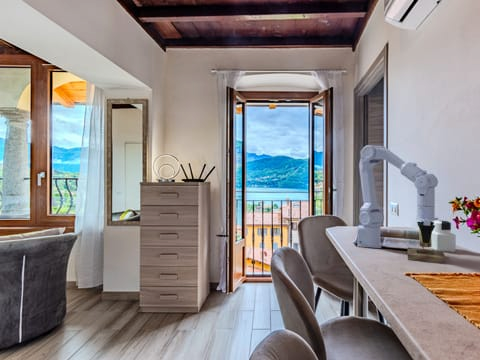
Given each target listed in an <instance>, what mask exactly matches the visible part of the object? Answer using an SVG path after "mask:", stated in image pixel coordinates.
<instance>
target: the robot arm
mask: <svg viewBox="0 0 480 360" xmlns="http://www.w3.org/2000/svg"><path fill="white" fill-rule="evenodd" d="M359 152H360V154H359V155H360V159H359V164H358V167H359V176H360V184H361V185H360V187H361V193H362V201H363V205H362V206H361V207H360V209H359V217H358V218H359V222H360V224H361V225H360V224H359V225H357V238H356V239H357V245H356V246H357V247H364V248H373V249H374V248H375V249H381V248H382V243H381V227H382V223H383V222H384V220H385V215H384V212H383V211H382V207H381V206H380V205H379V204H378V200H377V192H376V185H375V184H376V183H375V177H374V170H373V169H374V167H376V165H377V164H379V163H380V162H381V161H383V160H384V161H386V162H388V163H389V164H390V165H392V166H394V167H396V168H397V169H399V170H400V174H401V175H402V176H403V177H405V178H406V179H407V180H409V181H411V182H412V183H413V185H414V187H415V188H416V189H417V190H416V192H417V193H416V194H417V197H416V199H417V201H416V203H417V205H416V206H417V209H416V211H417V212H416V214H417V215H416V220H418V221H416V223H417V227H418V229H419V228H420V231H421V236H422V241H423V243H429V242H430V239H431V234H432V231H434V228H435V225H434V222H435V221H439V218H438V217H436V216H435V211H436V210H435V209H436V207H435V204H436V202H435V201H436V191H435V190H436V187H437V186H438V183H439V181H438V178H437V177H436V176H435V174H433V173H428V171H427V170H425V169H424V170H423V169H421V168H420V167H419V166H418V164H417V163H416V162H405V160H403V159H402V158H400V157H399V156H397V155H396V153H394V152H393V151H391V150H390V149H389V148H387V147H385V146H383V145H371V144H367V145H365V146H364V147H363V148H362V149H360V151H359Z"/></svg>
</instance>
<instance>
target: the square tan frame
mask: <svg viewBox="0 0 480 360" xmlns="http://www.w3.org/2000/svg"><path fill="white" fill-rule="evenodd" d="M406 251H407V253H406V254H407V260H408V261H417V262H426V263H436V264H447V257H446V256H445V253H444V252H443V251H442V250H434V249H432V248H430V249H429V248H419V247H417V248H416V247H407V250H406Z"/></svg>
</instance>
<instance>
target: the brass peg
mask: <svg viewBox="0 0 480 360" xmlns="http://www.w3.org/2000/svg"><path fill="white" fill-rule="evenodd" d="M418 229H419V230H418V231H419V233H418V234H419V238H418V239H419V240H418V241H419V243H418V244H419V246H420V247H422V248H430V247H432V239H430V242H429V243H423V241H422V236H421V231H420V228H419V227H418Z"/></svg>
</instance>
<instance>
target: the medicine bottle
mask: <svg viewBox="0 0 480 360" xmlns="http://www.w3.org/2000/svg"><path fill="white" fill-rule="evenodd" d="M433 222H434V224H433V225H435V228H434V229H433V231H432V234H431V239H432V247H429V248H430V249H431V250H442V251H443V253H444V252H446V253H447V252H448V253H449V252H452V253H455V252H456V248H457V247H456V246H457V245H456V242H457V241H456V240H457V239H456V238H457V237H456V236H457V235H456V234H455V233H452V232H451V230H452V223H451V222H449V221H448V220H434V221H433Z"/></svg>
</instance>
